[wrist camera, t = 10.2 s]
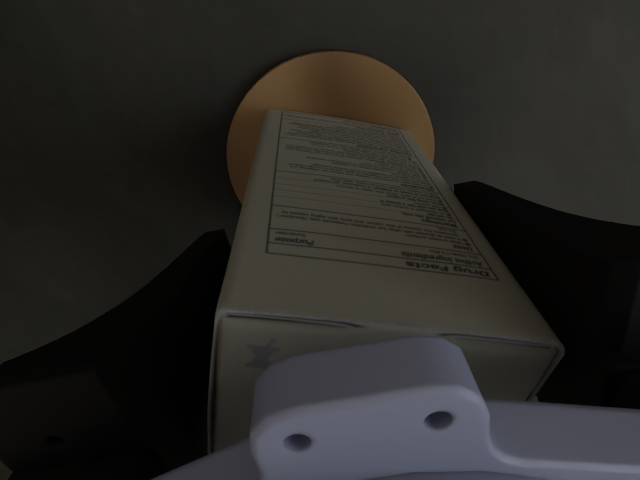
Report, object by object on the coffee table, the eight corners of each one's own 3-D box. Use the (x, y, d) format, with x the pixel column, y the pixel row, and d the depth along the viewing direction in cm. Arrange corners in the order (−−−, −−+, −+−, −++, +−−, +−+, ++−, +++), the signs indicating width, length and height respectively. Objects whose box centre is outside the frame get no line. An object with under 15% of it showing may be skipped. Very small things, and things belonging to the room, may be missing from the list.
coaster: (259, 260, 21) (258, 265, 21) (198, 76, 17) (195, 78, 16) (437, 227, 21) (439, 231, 20) (426, 26, 16) (428, 27, 16)
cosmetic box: (255, 199, 19) (186, 466, 9) (265, 103, 17) (190, 306, 6) (392, 220, 20) (482, 490, 9) (420, 130, 17) (580, 353, 7)
